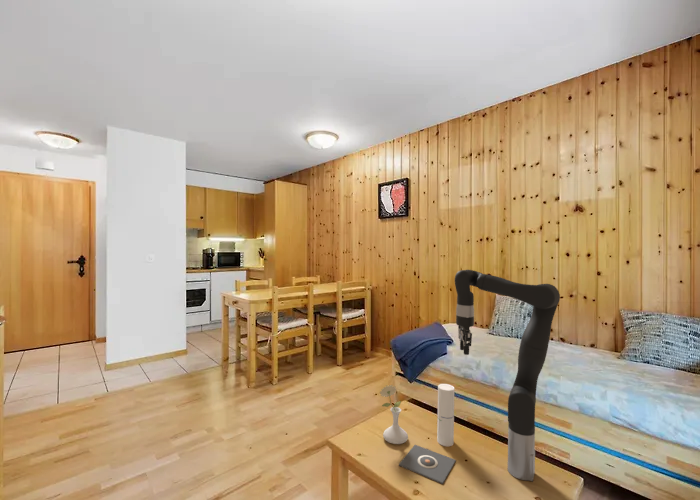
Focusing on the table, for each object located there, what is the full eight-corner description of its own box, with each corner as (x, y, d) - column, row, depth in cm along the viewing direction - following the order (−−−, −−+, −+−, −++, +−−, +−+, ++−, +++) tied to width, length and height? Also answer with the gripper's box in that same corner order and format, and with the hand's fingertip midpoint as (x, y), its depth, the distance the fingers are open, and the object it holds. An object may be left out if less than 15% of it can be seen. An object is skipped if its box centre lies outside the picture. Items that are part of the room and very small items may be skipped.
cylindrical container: (450, 448, 146) (451, 392, 145) (434, 442, 150) (435, 387, 150) (455, 440, 151) (456, 386, 151) (440, 435, 156) (441, 382, 155)
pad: (455, 461, 137) (455, 458, 137) (442, 484, 124) (442, 481, 124) (414, 445, 147) (414, 443, 147) (398, 465, 134) (398, 463, 134)
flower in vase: (407, 433, 157) (407, 380, 157) (409, 447, 146) (409, 391, 145) (379, 431, 159) (380, 379, 158) (379, 445, 147) (379, 389, 147)
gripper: (452, 311, 156) (452, 346, 156) (460, 317, 141) (459, 357, 142) (469, 311, 155) (468, 347, 155) (478, 318, 141) (478, 358, 141)
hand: (464, 352), depth 148 cm, fingers open, 5 cm apart
